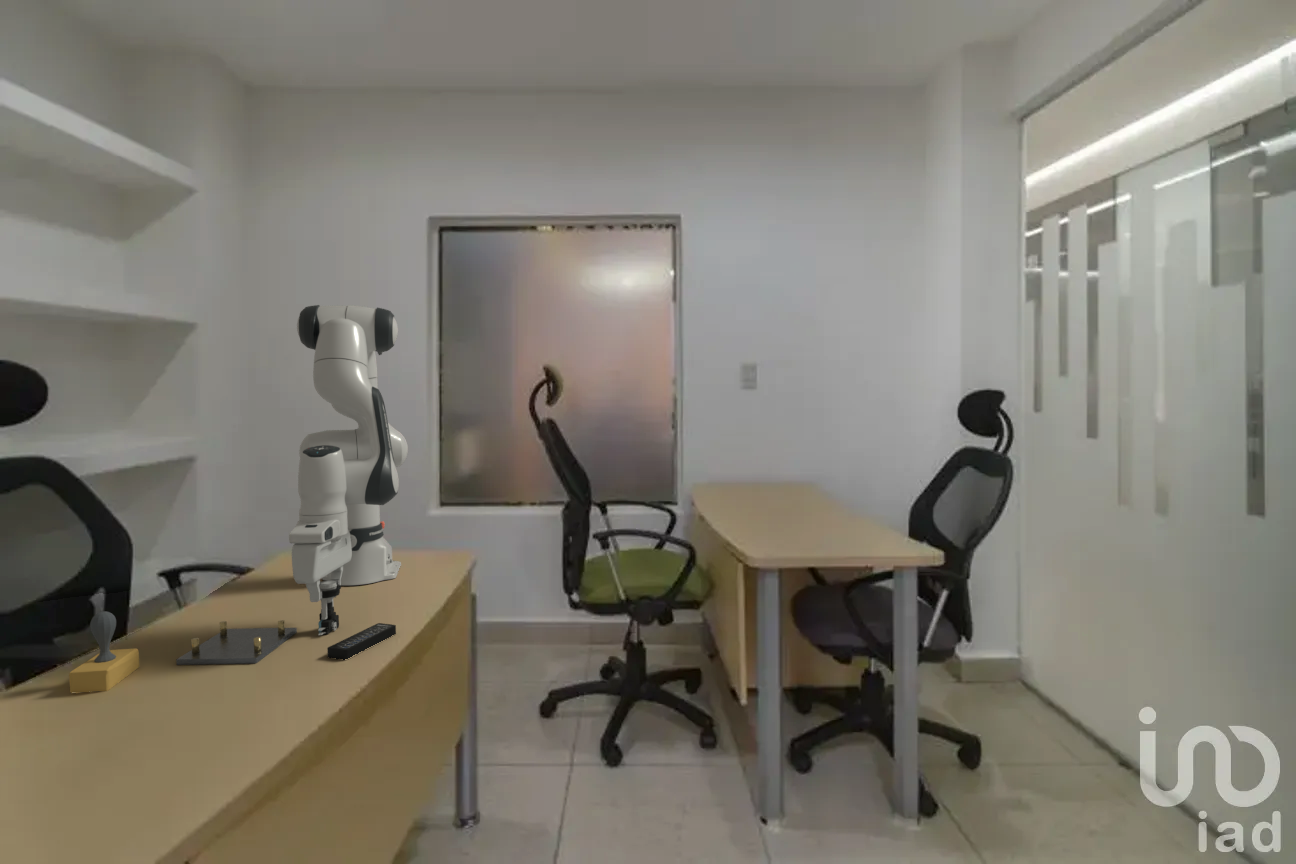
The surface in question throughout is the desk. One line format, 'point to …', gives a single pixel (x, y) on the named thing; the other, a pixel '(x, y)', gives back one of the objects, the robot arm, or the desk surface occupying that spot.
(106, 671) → the rubber stamp
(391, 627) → the multiport hub
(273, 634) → the chassis
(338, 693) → the desk surface
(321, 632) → the push button
